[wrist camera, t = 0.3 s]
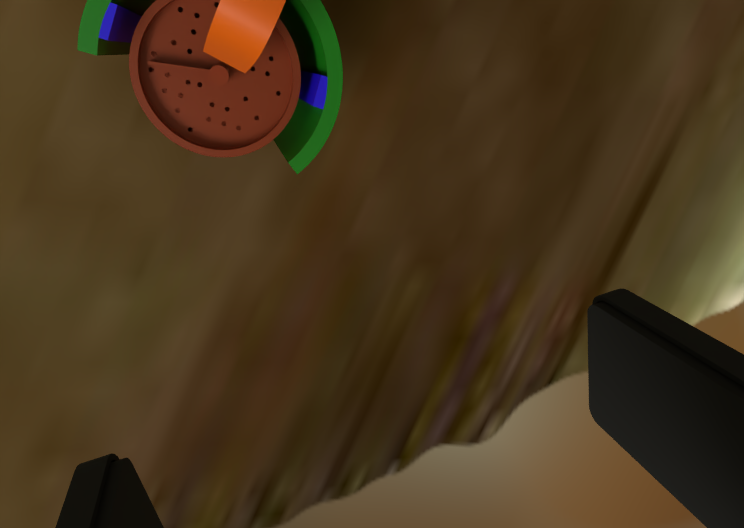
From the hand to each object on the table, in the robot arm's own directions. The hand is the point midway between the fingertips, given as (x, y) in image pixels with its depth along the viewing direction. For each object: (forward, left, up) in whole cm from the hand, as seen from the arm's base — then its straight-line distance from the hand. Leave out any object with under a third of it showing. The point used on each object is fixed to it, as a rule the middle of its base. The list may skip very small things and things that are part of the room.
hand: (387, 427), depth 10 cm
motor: (-7, -1, -31) cm, 32 cm away
